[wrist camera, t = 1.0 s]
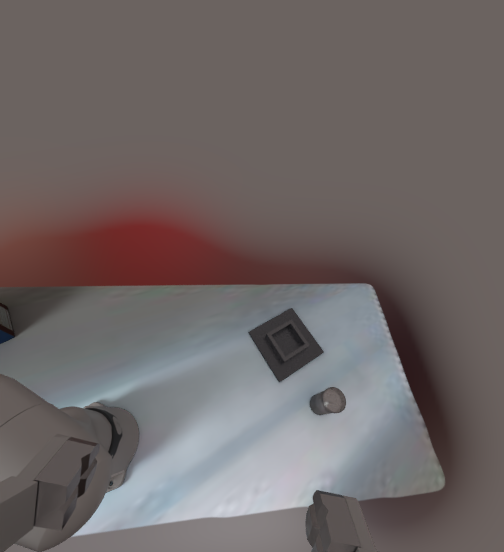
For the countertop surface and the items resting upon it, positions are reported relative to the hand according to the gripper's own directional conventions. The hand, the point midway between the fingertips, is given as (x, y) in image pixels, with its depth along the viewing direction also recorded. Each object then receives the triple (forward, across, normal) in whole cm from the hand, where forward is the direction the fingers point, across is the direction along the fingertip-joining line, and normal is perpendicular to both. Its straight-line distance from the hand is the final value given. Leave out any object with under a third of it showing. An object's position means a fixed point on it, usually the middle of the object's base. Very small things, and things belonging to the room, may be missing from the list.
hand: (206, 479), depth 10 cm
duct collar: (+64, +18, -23) cm, 70 cm away
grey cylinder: (+53, +28, -33) cm, 69 cm away
